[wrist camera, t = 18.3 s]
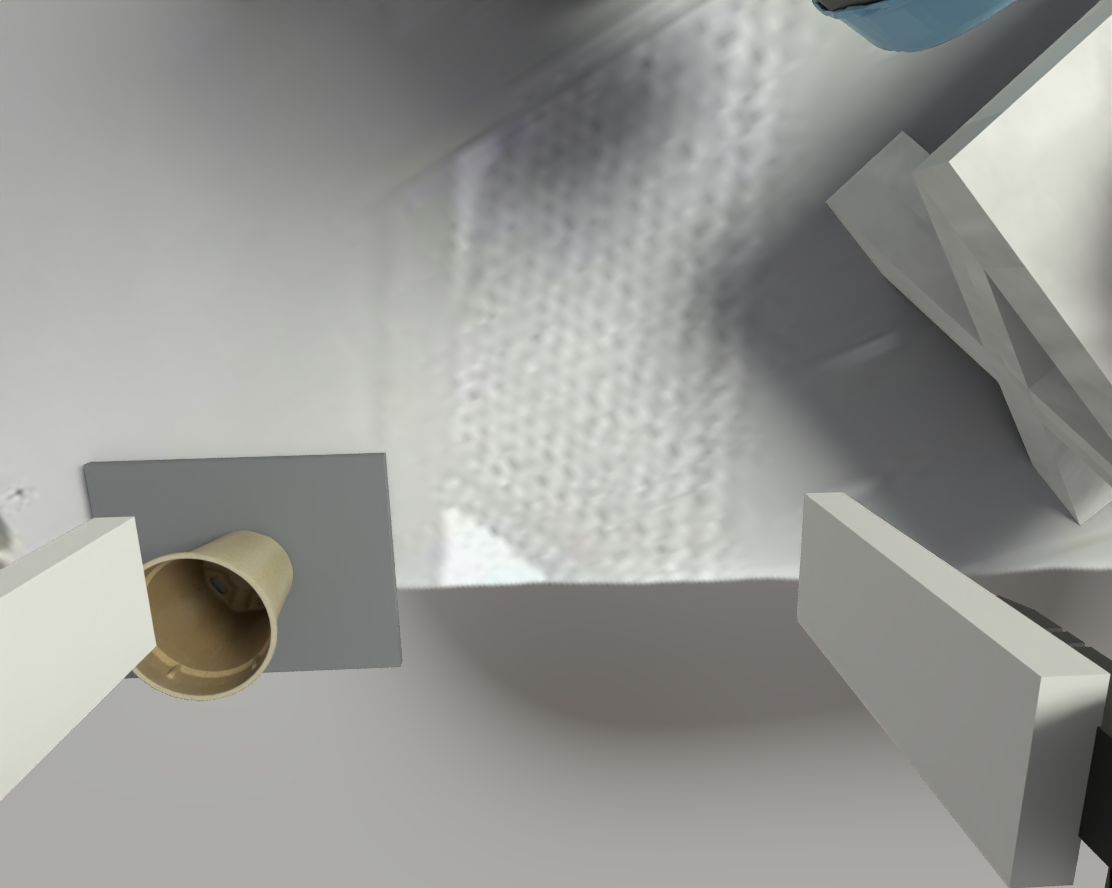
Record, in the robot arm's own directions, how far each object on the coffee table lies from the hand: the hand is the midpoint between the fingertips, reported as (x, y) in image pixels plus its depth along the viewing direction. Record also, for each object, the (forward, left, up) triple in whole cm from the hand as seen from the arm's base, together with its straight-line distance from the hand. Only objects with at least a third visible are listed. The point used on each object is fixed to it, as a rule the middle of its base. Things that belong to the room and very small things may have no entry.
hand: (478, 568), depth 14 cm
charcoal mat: (+19, +14, -35) cm, 42 cm away
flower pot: (+19, +14, -34) cm, 41 cm away
